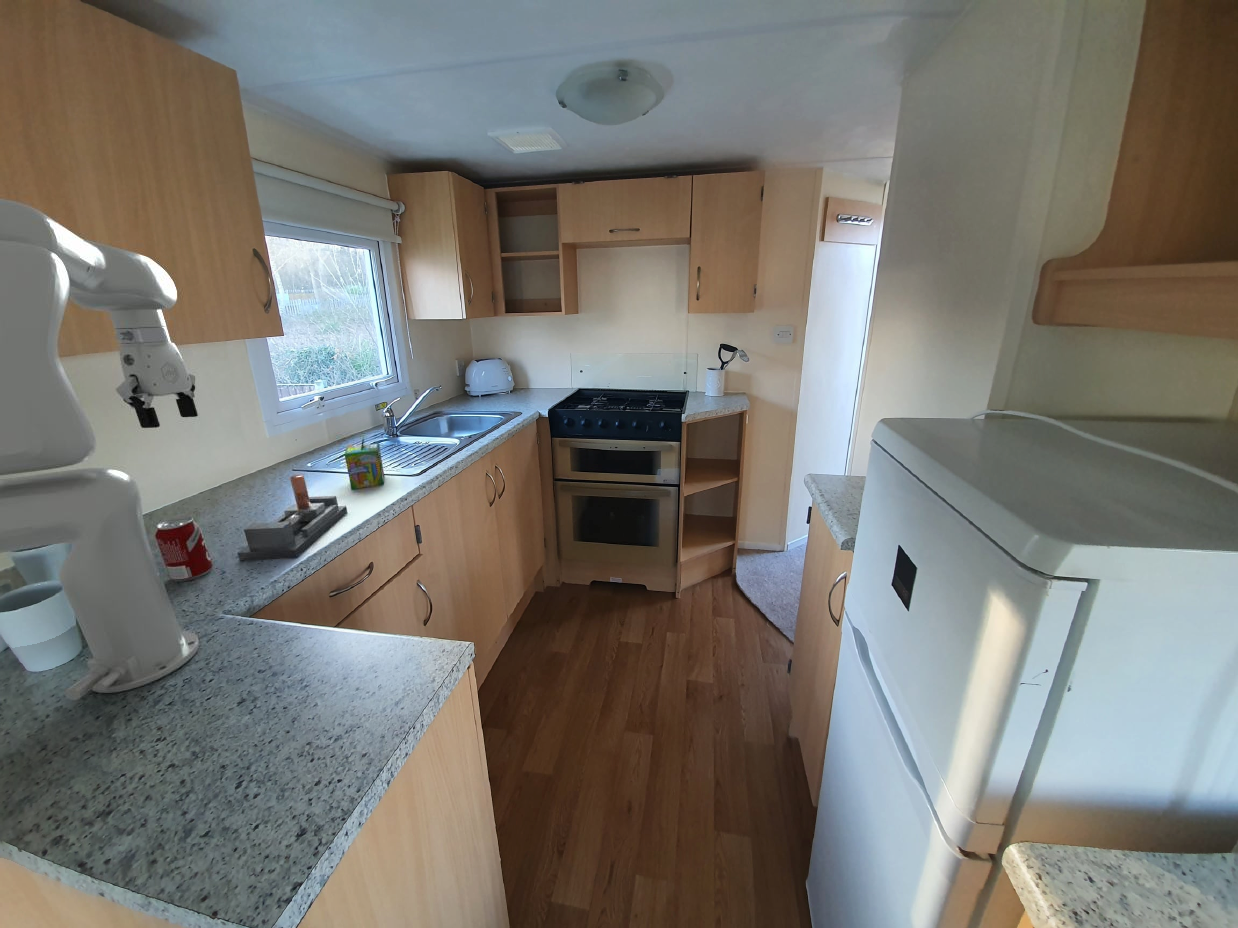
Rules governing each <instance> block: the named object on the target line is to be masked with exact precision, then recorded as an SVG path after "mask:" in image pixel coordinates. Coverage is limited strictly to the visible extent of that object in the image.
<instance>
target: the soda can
mask: <svg viewBox="0 0 1238 928" xmlns="http://www.w3.org/2000/svg"><path fill="white" fill-rule="evenodd" d="M155 528H156V529H157V530H156V532H155V535H154V538H155V540H156V543H157V545H158V549H159V551H160V554H161V557H162V560H163V562H164V566H165V568H166V570H167V573H168V577H169V578H170V580H171V581H173V582H189V581H190V582H191V581H193V580H196V579H199V578H201V577H203V576H205V575H207V573H209V572H211V570H212V569H213V563H212V559H211V556H210V554H209V553H210V552H209V550H208V547H207V544H206V541H205V537H204V534H203V532H202V529H201V526H200V524H199V523H198V522H196V521H194V518H193V517H192V516H178V517H175V518H169V519H166V520H164V521H161V522H160V523H157V525H156V527H155Z"/></svg>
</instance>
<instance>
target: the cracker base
mask: <svg viewBox="0 0 1238 928" xmlns="http://www.w3.org/2000/svg"><path fill="white" fill-rule="evenodd" d="M309 500H310V504H313V503H324V505H325V511H324V512H322V513H321V514H320V515H319V516H317V517H316V518H315V519H314V520H313V521H301V522H300V523H299V524H297V525H296V526H295V527H293V528H292V526H291V522H284V521H285V520H286V517H285V513H283V514H282V515H281V516H280V517H278V518H277V519H275V520H274V521H273V522H257V523H256V522H255V523H251V524H249V525H248V526H246V527H245V528H244V529H243V532H244V534H245V535H244V536H245V539H246V542H247V545H245V546H244V547H243V548H242V549H241V550H239V551H237V557H238V560H239V562H246V561H247V562H249V561H265V560H266V561H267V560H286V559H287V560H289V559H298V558H299V557H301V555H302V554H303V553H305V552H306V550H308V549H309V548H311V546H313V544H314V543H316V542H317V541H318V540H319V539H320V538H321V537H322V536H323V535H325V534H326V533H327V532H328V531H329V530H330V529H331V528H333V527H334V526H335V525H336V524H337V523H338V522H339V521H340V520H342V518H344V517H345V516H346V515H347V514H348V509H347V508H348V507H347V505H340V506H339V503H338V498H337V495H327V496H326V495H323V496H309ZM343 516H344V517H343Z"/></svg>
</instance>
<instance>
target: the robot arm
mask: <svg viewBox="0 0 1238 928" xmlns="http://www.w3.org/2000/svg"><path fill="white" fill-rule="evenodd" d="M69 299H70V301H72V303H74V304H76V305H77V306H79V307H80V308H83V309H85V310H91V311H97V312H98V311H99V312H108V313H109V317H110V319H111V322H112V326H113V328H114V332H115V333H114V334H115V335H114V337H115V339H117V341H118V344H119V346H118V350H119V351H118V352H119V359H120V365H121V369H122V373H123V377H124V381H123V382H122V383H121V384H119V385H118V386H117V387H116V389H115V391H116V393H118V395H119V396H120V397H121V398H122V399H123V402H125V403H126V404H127V405H129V406H130V408H131V409H133V410H134V411H135V413H136V416H137V420H138V423H139V424H140V425H139V426H140V427H141V428H142V429H153V428H154V429H155V428H159V427H160V426H161V424H160V421H159V419H158V415H157V412H156V410H155V406H154V407H152V403H153V399H154V397H164V396H169V395H174V396H176V398H175V401H176V405H177V409H178V412H179V415H180V417H181V418H196V417H198V416H199V414H198V411H197V407H196V404H195V401H194V398H195V391H196V385H195V384H196V376H195V375H193V374H191V373H189V371H188V368H187V367H186V364H185V362H184V360H183V359H184V358H183V357H182V355H181V353H180V351H179V349H178V348H177V346H176V344H175V342H172V341H171V337H170V334H169V331H168V327H167V323H166V321H165V318H164V314H163V311H162V310H164V311H165V310H168V309H172V308H173V307H174V306H175V304H176V303H177V299H178V292H177V288H176V286H175V283H174V281H173V279H172V278H171V277H170V275H169V274H168V272H167V271H166V270H165V269H163V268H162V267H161V266H160V265H159V264H157V263H156V262H155V261H154V260H152V259H151V258H150V257H147V256H145V255H142V254H140V253H136V252H134V251H131V250H126V249H122V248H118V247H114V246H112V245H111V246H110V245H108V244H105V243H100V242H96V241H92V240H89V239H83V238H81V237H80V236H78V235H77V234H75V233H73V232H72V231H70V230H69V229H68V228H66V227H65V226H63V225H61V224H60V223H58V222H57V221H56V220H54V219H53V218H51V217H50V216H48V215H46V214H45V213H43V212H42V211H40V210H38V209H37V208H34V207H32V206H30V205H27V204H24V203H22V202H18V201H15V200H9V199H2V198H0V476H6V475H15V474H23V473H25V474H26V473H32V472H38V471H39V472H41V471H47V470H48V471H49V470H53V469H54V470H55V469H60V468H64V467H65V468H66V467H69V466H74V465H77V464H80V463H83V462H85V461H87V460H88V459H90V458H91V457H92V456H93V455H94V454H95V452H96V449H97V441H96V437H95V434H94V429H93V427H92V425H91V423H90V421H89V418H88V416H87V414H86V412H85V410H84V409H83V406H82V404H81V402H80V400H79V398H78V395H77V394H76V392H75V390H74V388H73V386H72V384H71V382H70V380H69V378H68V376H67V374H66V371H65V369H64V367H63V365H62V363H61V359H60V356H59V351H58V350H59V349H58V340H59V333H60V330H61V329H60V328H61V326H62V321H63V318H64V315H65V310H66V309H67V304H68V301H69ZM144 521H145V520H144V516H143V507H142V499H141V493H140V489H139V486H138V484H137V483H136V481H135V479H134V478H133V477H132V476H130V475H129V474H127V473H126V472H123V471H122V470H118V469H114V468H105V467H88V468H77V469H70V470H61V471H54V472H53V471H52V472H46V473H45V472H43V473H37V474H33V475H25V476H24V475H23V476H15V477H14V476H13V477H9V478H8V477H7V478H0V553H8V552H15V551H16V552H17V551H21V550H25V549H26V550H27V549H32V548H37V547H45V546H49V545H50V546H51V545H58V544H60V545H61V544H66V543H67V544H72V547H71V550H70V552H69V554H67V556H66V557H65V559H64V561H62V563H61V565H60V568H59V571H58V572H59V573H58V580H59V583H60V586H61V587H62V589H63V592H64V594H65V597H66V599H67V600H68V604H69V605H70V608H71V610H72V612H73V615H74V616H75V619H76V621H77V623H78V625H79V627H80V629H81V631H82V635H83V636H84V639H85V641H86V642H87V645H88V648H89V650H90V652H91V654H92V656H93V658H92V659H90V660H89V661H88V662H86V664H87V667H88V669H89V670H88V671H86V672H85V675H84V677H83V678H81V679H79V680H78V681H77V682H75V683H73V685H71V686H70V687H69V688H67V689H66V690H65V691H64V696H65V697H66V698H67V699H68V700H71V701H77V700H80V699H81V698H82V697H84V696H85V695H86V694H87V693H89V692H90V691H91V690H92V691H93V692H96V693H99V694H104V693H105V694H112V693H119V692H124V691H129V690H133V689H135V688H140V687H142V686H145V685H147V684H150V683H153V682H155V681H157V680H159V679H161V678H163V677H166V676H167V675H169V674H171V673H172V672H174V671H176V670H178V669H179V668H181V666H184V665H185V664H186V663H187V662H188V661H190V659H192V658H193V656H195V655H196V653H197V652H198V649H199V647H200V641H199V637H198V635H197V634H195V633H194V632H191V631H186V630H182V629H181V626H180V624H179V621H178V619H177V616H176V614H175V611H174V607H173V605H172V603H171V600H170V598H169V595H168V592H167V590H166V587H165V584H164V581H163V578H162V576H161V575H162V574H161V573H160V570H159V567H158V565H157V563H156V562H157V561H156V558H155V556H154V554H153V552H152V549H151V548H152V547H151V545H150V542H149V539H148V535H147V531H146V528H145V522H144Z"/></svg>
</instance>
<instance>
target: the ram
mask: <svg viewBox="0 0 1238 928" xmlns="http://www.w3.org/2000/svg"><path fill="white" fill-rule="evenodd" d="M289 480H290V483H291V487H292V492H293V495H294V501H295V504H292V505H291V506H289V507H288V508H285V509H284V511H283V512H284V513H283V514H285V517H286V520H285V521H284V522H291V526H292V528H293V527H295V526H296V525H297V524H299V523H300V522H301V521H313V520H314V519H315V518H316V517H317V516H319V515H320V514H321V513H322V512H324V511H325V505H324V503H313V504H310V500H309V497H310V495H309V491H308V488H307V484H306V480H305V475H304V474H295V475H292V476H289Z"/></svg>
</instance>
